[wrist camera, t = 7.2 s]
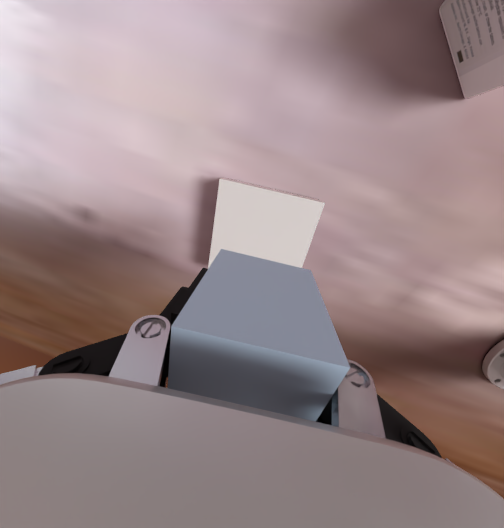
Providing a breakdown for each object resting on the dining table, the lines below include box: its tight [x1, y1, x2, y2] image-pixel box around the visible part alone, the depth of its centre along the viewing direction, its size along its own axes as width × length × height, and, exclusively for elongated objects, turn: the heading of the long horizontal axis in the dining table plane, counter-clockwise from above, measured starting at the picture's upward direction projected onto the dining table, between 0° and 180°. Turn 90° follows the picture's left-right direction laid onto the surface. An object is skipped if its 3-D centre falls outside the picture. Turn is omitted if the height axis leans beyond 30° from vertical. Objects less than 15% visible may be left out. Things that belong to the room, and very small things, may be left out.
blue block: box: [168, 249, 350, 422], centre depth 9 cm, size 5×5×6 cm
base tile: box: [208, 178, 325, 269], centre depth 24 cm, size 11×11×3 cm
